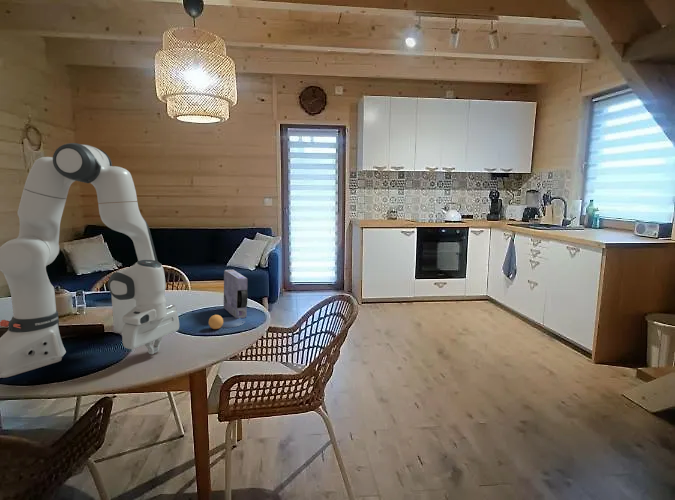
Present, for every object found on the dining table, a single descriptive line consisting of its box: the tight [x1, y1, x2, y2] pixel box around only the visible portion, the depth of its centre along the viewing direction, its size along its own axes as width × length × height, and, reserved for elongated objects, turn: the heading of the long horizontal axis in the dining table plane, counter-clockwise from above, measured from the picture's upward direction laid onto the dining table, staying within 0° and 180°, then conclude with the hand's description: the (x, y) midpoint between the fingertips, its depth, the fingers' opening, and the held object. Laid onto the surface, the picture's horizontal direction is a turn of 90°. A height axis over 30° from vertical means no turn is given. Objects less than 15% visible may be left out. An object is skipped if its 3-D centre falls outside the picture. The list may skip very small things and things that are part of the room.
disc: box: [219, 316, 246, 329], centre depth 172 cm, size 13×13×1 cm
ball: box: [208, 314, 224, 330], centre depth 165 cm, size 6×6×6 cm
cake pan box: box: [223, 269, 249, 319], centre depth 184 cm, size 19×5×18 cm, turn 32°
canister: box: [111, 295, 136, 334], centre depth 163 cm, size 14×14×20 cm
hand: (153, 352), depth 137 cm, fingers closed
